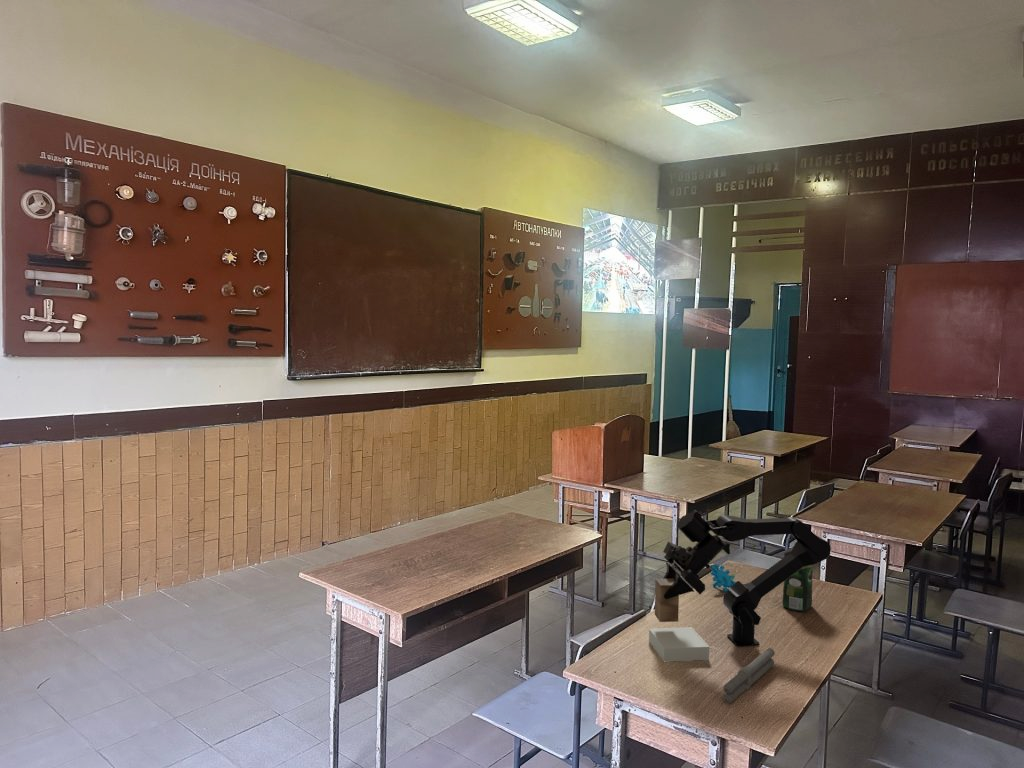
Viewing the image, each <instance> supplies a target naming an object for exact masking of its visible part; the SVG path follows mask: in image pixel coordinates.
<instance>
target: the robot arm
mask: <svg viewBox="0 0 1024 768" xmlns="http://www.w3.org/2000/svg"><path fill="white" fill-rule="evenodd" d="M676 528H677V529H678V530H679V531H680V532H681V533H682V534H683V535H684V536H686V538H687V539H688V540H689V541H690V542H692V543H695V542H696V544H695V545H694V546H693V547H691V546H688V547H686V548H685V547H682V546H681V545H677V544H675V543H672V542H670V541H667V542H666V545H665V547H664V549H663V551H662V552H663V553H664V554H665V555H664V556H663V558H664V559H665V560H666V562H665V565H666V572H665V574H664V576H663V578H662V579H674V580H675V582H674V583H673V584H672V586H671V587H670V588H669V589H668V591H667V592H666V593H665V595H664V598H665V599H669V598H672V597H675V596H678V595H679V596H681V595H684V594H688V593H691V592H692V593H695V591H696V593H698V594H699V595H702V593H704V591H706V584H705V583H704V582H703V581H702V580H701V579H700V576H699V573H701V572H702V571H703V570H704V569H705V568H706V569H709V568H710V567H711V565H710V563H711V562H712V561H713V560H714V559H715V558H716V557H717V556H718V555H719V554H720V553H721V552H722V551H723V552H725V554H727V555H731V549H730V547H731V544H730V543H729V542H731V543H733V542H738V541H742V540H746V539H747V538H750V537H753V536H769V535H770V536H773V535H774V536H775V535H778V536H779V535H791V536H792V537H793V538H794V539H795V540H796V542H795V543H794V545H793V546H792V547H793V549H792V551H791V552H790V553H789V554H788V555H787V556H785V557H783V558H781V559H780V560H779V561H777V562H776V563H774V564H773V565H772V566H771V567H769V568H768V569H766V570H765V571H764V572H762V573H760V574H759V575H758V576H756V578H754V579H753V580H751V581H749V582H748V583H742V582H741V581H740V580H738V581H735V582H736V583H735V584H734V585H733V586H731V587H729V588H728V587H727V591H726V592H724V593H723V598H722V601H723V602H722V603H723V605H724V606H725V607H726V608H727V610H728V611H729V613H730V614H731V615H732V616H733V617H732V630H731V631H732V633H728V634H727V635H726V636H727V637H728V639H729V640H731V641H732V643H734V645H736V646H738V647H744V646H746V647H747V646H748V647H749V646H760V642H759V641H758V640H756V638H755V629H756V626H759V624H760V622H761V620H762V618H761V616H760V615H759V614H758V613H757V611H755V610H756V609H757V608H758V606H759V604H760V601H761V600H762V598H763V597H765V596H766V595H767V594H769V593H771V591H773V590H775V589H776V588H777V587H778V586H780V584H783V583H784V581H785V580H786V579H788V578H789V577H790V576H792V575H793V574H794V573H796V572H797V571H799V570H800V569H801V568H803V567H805V566H809V565H813V566H814V565H817V564H819V563H821V562H823V561H825V560H827V559H828V558H829V557H830V556H831V550H832V549H831V548H832V547H831V544H830V543H829V542H828V540H825V539H823V538H822V537H820V536H818V535H817V534H815V533H814V531H812V530H811V529H810V528H808V527H807V526H806V525H805V524H804V523H803V521H801V520H799V519H798V518H796V517H794V516H789V517H775V518H774V517H773V518H743V517H739V516H735V515H727V514H722V515H719V516H718V517H717V518H714V519H708V520H705V519H704V518H703V517H702V515H701V514H700V513H699V512H698V511H697V510H696V509H694V510H693V511H691V512H688V513H686V514H685V515H682V516H681V517H680V518H679V520H678V521H677V523H676ZM710 532H712V533H713V534H714V535H712V534H711V533H710ZM720 537H722V538H723V539H725V540H726V541H723V540H722V538H720Z"/></svg>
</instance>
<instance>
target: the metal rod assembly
mask: <svg viewBox="0 0 1024 768" xmlns="http://www.w3.org/2000/svg"><path fill="white" fill-rule="evenodd" d="M775 655H776V653H775V650H774V649H773V648H770V647H769V648H767V649H766V650H764V651H763V652H761V654H759V656H757V657H756V658H755V659H754V660H752V661H751V662H750V663H749V664H747V665H746V666H744V667H743V668H740V670H738V672H737V674H736V675H734V677H732V678H731V679H730V680H728V682H726V683H725V684H724V685H723V686H722V687H723V691H724V692H725V694H724V695H723V696H722V700H723V702H724V704H725V703H726V704H727V705H729V704H731V703H732V702H733V701H735V699H736V698H738V697H739V696H740V695H742V693H744V692H746V691H748V690H749V689H750V688H751V687H752V685H753V684H754V683H756V681H758V679H760V678H761V677H762V676H763V675H764V674H765V673H767V672H768V671H769V670H770V669H771V668H772V667H773V666H774V665H775V660H774V659H773V658H774V656H775ZM772 657H773V658H772Z"/></svg>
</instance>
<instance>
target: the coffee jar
mask: <svg viewBox="0 0 1024 768" xmlns="http://www.w3.org/2000/svg"><path fill="white" fill-rule="evenodd" d="M793 547H794V546H791V547H789V548H787V549H785V551H784V554H783V555H784V557H785V556H787V555H788V554H789V553H790V552H791V551H792V549H793ZM784 557H783V558H784ZM813 567H814V565H809V566H805V567H803V568H801V569H800V570H799V571H797V572H796V573H794V574H793V575H792V576H790V577H789V578H788V579H786V580H785V581H784V582H783V587H782V588H783V589H782V603H781V604H782V606H783V607H784V608H786V609H788V610H790V611H794V612H806V611H808V610H810V608H811V607H812V604H813V571H814V568H813Z"/></svg>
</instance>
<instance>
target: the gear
mask: <svg viewBox="0 0 1024 768" xmlns="http://www.w3.org/2000/svg"><path fill="white" fill-rule="evenodd" d="M724 569H725V566H724V565H722V564H721V565H720V564H717V563H716V564H714V565H713V566H712V567H711V571H710V575H711V576H713V577H712V581H713V582H714V583H713V584H712V587H713V588H715V587H718V588H721V587H722V586H723V588H722V591H723V592H724V593H726V592H727V591H728V590H727V588H729V587H731V586H733V585H734V584H735V583H736V582H737V581H734V580H735V577H736V574H734V573H733V574H731V575H729V574H730V573H731V572H730V570H729V569H726V570H724Z"/></svg>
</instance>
